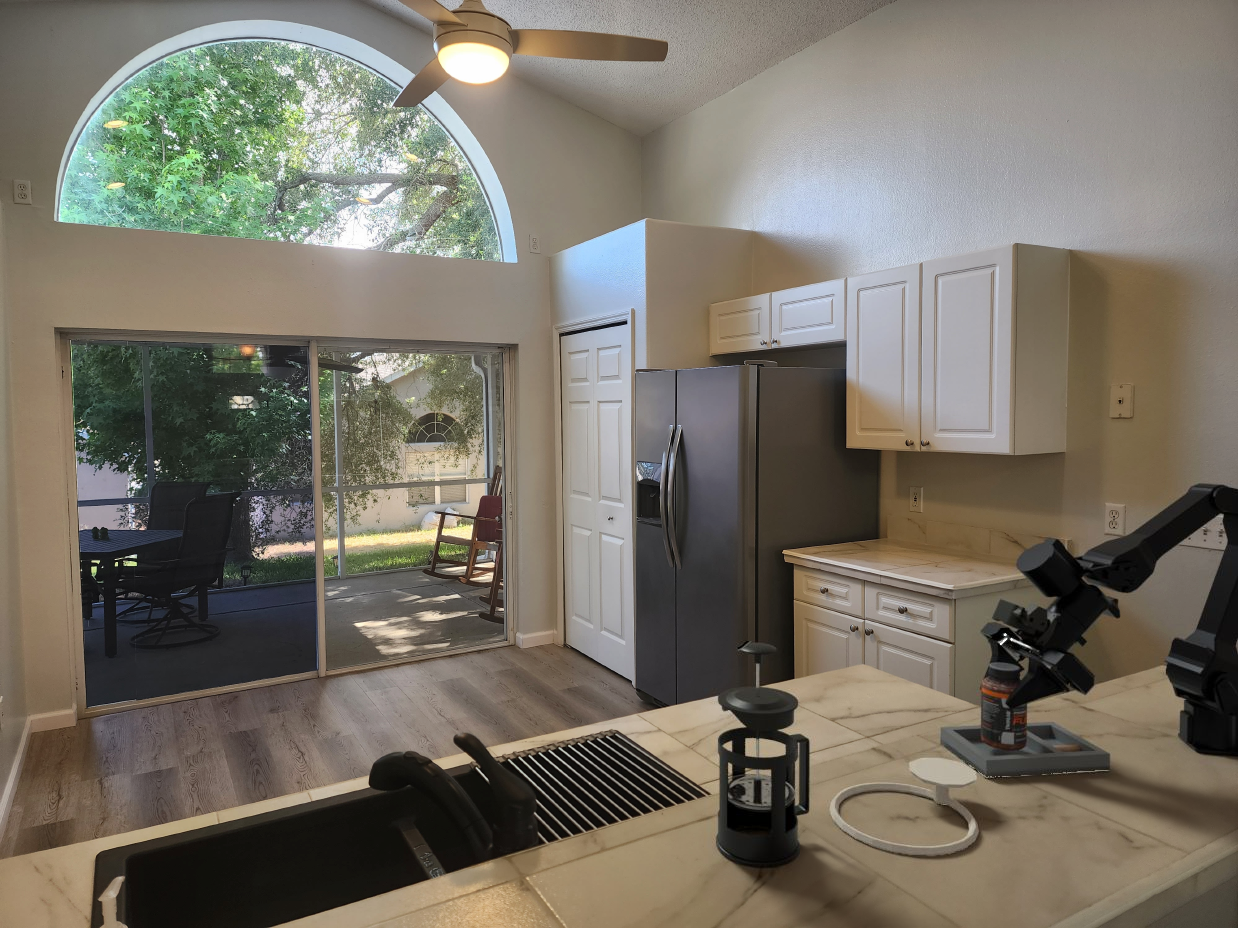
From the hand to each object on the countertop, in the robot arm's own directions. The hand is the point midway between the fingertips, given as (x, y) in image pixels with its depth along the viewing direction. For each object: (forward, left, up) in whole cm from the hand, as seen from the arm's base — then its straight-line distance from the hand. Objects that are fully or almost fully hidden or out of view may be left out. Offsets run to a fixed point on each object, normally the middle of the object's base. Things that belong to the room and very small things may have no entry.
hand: (994, 698), depth 112 cm
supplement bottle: (-1, 0, -7) cm, 7 cm away
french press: (+31, +31, -9) cm, 45 cm away
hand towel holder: (+13, +20, -9) cm, 26 cm away
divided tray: (-4, -1, -9) cm, 10 cm away
